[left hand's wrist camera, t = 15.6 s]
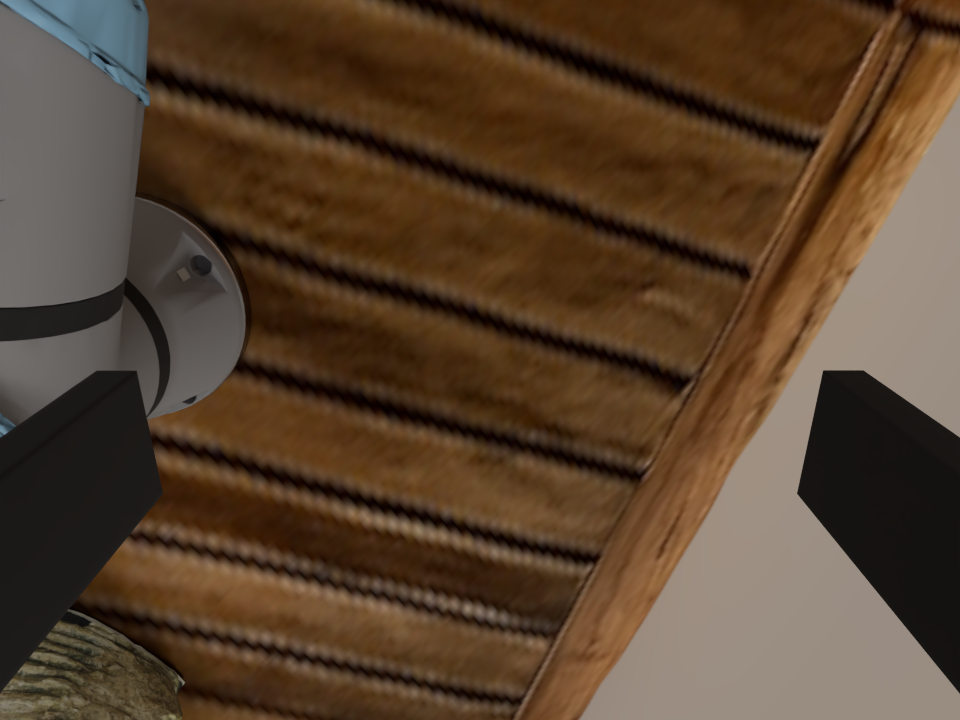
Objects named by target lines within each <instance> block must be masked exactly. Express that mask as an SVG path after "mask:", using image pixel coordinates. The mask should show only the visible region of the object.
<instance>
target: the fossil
mask: <svg viewBox="0 0 960 720" xmlns="http://www.w3.org/2000/svg"><path fill="white" fill-rule="evenodd" d="M184 684H185V682H184V681H183V680H182V678H181V677H180V676H179V675H178V674H177V673H176V672H175V671H174V670H172V669H171V668H169V667H167V666H166V665H165V664H164V663H163V662H161V661H160V660H159V659H158V658H156V657H155V656H153V655H152V654H150V653H149V652H147V651H146V650H145V649H144V648H142V647H141V646H139V645H136V644H134V643H132V642H131V641H130V640H129V639H127V638H126V637H125V636H124V635H122V634H120V633H119V632H117V631H115V630H113V629H111V628H110V627H108V626H106V625H104V624H102V623H100V622H99V621H97V620H95V619H93V618H90V617H88V616H86V615H84V614H82V613H79V612H76V611H73V610H69V609H68V611H67V612H66V613H65V614H64V616H63V617H62V618H61V619H60V621H59V622H58V623H57V624H56V625H55V627H54V628H53V629H52V630H51V632H50V633H49V634H48V635H47V636H46V638H45V639H44V640H43V641H42V643H41V644H40V645H39V646H38V648H37V649H36V650H35V651H34V652H33V654H32V655H31V656H30V657H29V659H28V660H27V661H26V662H25V664H24V665H23V666H22V667H21V668H20V670H19V671H18V672H17V673H16V675H15V676H14V677H13V678H12V679H11V681H10V682H9V683H8V684H7V686H6V687H5V688H4V689H3V691H2V692H1V693H0V720H182V711H181V708H180V704H179V701H178V698H177V693H178V691H179V689H180V688H181V687H182V686H183V685H184Z"/></svg>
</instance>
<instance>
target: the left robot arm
mask: <svg viewBox="0 0 960 720" xmlns="http://www.w3.org/2000/svg"><path fill="white" fill-rule="evenodd" d="M148 27H149V19H148V12H147V8H146V5H145V2H144V0H0V693H1V692H2V691H3V689H4V688H5V687H6V686H7V684H8V683H9V682H10V681H11V679H12V678H13V677H14V676H15V675H16V673H17V672H18V671H19V670H20V668H21V667H22V666H23V665H24V664H25V662H26V661H27V660H28V659H29V657H30V656H31V655H32V654H33V652H34V651H35V650H36V649H37V648H38V646H39V645H40V644H41V643H42V641H43V640H44V639H45V638H46V636H47V635H48V634H49V633H50V632H51V630H52V629H53V628H54V627H55V625H56V624H57V623H58V622H59V621H60V619H61V618H62V617H63V616H64V614H65V613H66V612H67V611H68V609H69V608H70V607H71V606H72V605H73V603H74V602H75V601H76V600H77V598H78V597H79V596H80V595H81V593H82V592H83V591H84V590H85V589H86V587H87V586H88V585H89V584H90V582H91V581H92V580H93V579H94V578H95V576H96V575H97V574H98V573H99V571H100V570H101V569H102V568H103V566H104V565H105V564H106V563H107V562H108V560H109V559H110V558H111V557H112V555H113V554H114V553H115V552H116V550H117V549H118V548H119V547H120V546H121V544H122V543H123V542H124V541H125V539H126V538H127V537H128V536H129V535H130V533H131V532H132V531H133V530H134V528H135V527H136V526H137V525H138V523H139V522H140V521H141V520H142V519H143V517H144V516H145V515H146V514H147V512H148V511H149V510H150V509H151V508H152V506H153V505H154V504H155V503H156V501H157V500H158V499H159V498H160V496H161V495H162V494H163V492H162V488H161V483H160V478H159V473H158V469H157V464H156V459H155V455H154V450H153V445H152V440H151V436H150V431H149V426H148V422H147V420H148V419H151V418H155V417H158V416H161V415H163V414H168V413H172V412H175V411H178V410H181V409H184V408H187V407H189V406H191V405H193V404H195V403H197V402H198V401H200V400H202V399H204V398H205V397H207V396H208V395H210V394H211V393H212V392H214V391H215V390H216V389H217V388H218V387H219V386H220V385H221V384H222V383H223V382H224V381H225V380H226V379H227V378H228V377H229V376H230V374H231V373H232V372H233V371H234V369H235V368H236V367H237V365H238V364H239V362H240V360H241V359H242V356H243V354H244V352H245V350H246V346H247V343H248V340H249V335H250V328H251V307H250V300H249V295H248V291H247V288H246V284H245V281H244V279H243V276H242V274H241V272H240V269H239V268H238V266H237V264H236V262H235V260H234V258H233V257H232V255H231V254H230V252H229V251H228V249H227V248H226V247H225V246H224V244H223V243H222V242H221V241H220V239H219V238H218V237H217V236H216V235H215V234H214V233H213V232H212V231H211V230H210V229H209V228H208V227H206V226H205V225H204V224H203V223H202V222H201V221H199V220H198V219H197V218H195V217H194V216H193V215H191V214H189V213H188V212H186V211H185V210H183V209H181V208H179V207H177V206H175V205H174V204H172V203H169V202H167V201H164V200H162V199H159V198H156V197H153V196H150V195H146V194H141V193H136V185H137V175H138V166H139V157H140V148H141V139H142V130H143V121H144V111H145V106H149V105H150V94H149V91H148V90H147V89H146V87H145V86H146V66H147V47H148ZM797 494H798V495H799V496H800V498H801V499H802V500H803V501H804V503H805V504H806V505H807V506H808V508H809V509H810V510H811V511H812V512H813V514H814V515H815V516H816V517H817V519H818V520H819V521H820V522H821V523H822V525H823V526H824V527H825V528H826V530H827V531H828V532H829V533H830V535H831V536H832V537H833V538H834V539H835V541H836V542H837V543H838V544H839V546H840V547H841V548H842V549H843V550H844V552H845V553H846V554H847V555H848V557H849V558H850V559H851V560H852V562H853V563H854V564H855V565H856V566H857V568H858V569H859V570H860V571H861V573H862V574H863V575H864V576H865V577H866V579H867V580H868V581H869V582H870V584H871V585H872V586H873V587H874V589H875V590H876V591H877V592H878V593H879V595H880V596H881V597H882V598H883V600H884V601H885V602H886V603H887V605H888V606H889V607H890V608H891V609H892V611H893V612H894V613H895V614H896V616H897V617H898V618H899V619H900V621H901V622H902V623H903V624H904V625H905V627H906V628H907V629H908V630H909V632H910V633H911V634H912V635H913V636H914V638H915V639H916V640H917V641H918V643H919V644H920V645H921V646H922V648H923V649H924V650H925V651H926V652H927V654H928V655H929V656H930V657H931V659H932V660H933V661H934V662H935V664H936V665H937V666H938V667H939V668H940V670H941V671H942V672H943V673H944V675H945V676H946V677H947V678H948V679H949V681H950V682H951V683H952V684H953V686H954V687H955V688H956V689H957V691H958V692H959V693H960V437H958V436H957V435H955V434H954V433H952V432H951V431H950V430H948V429H947V428H945V427H944V426H942V425H941V424H940V423H938V422H937V421H935V420H934V419H932V418H931V417H929V416H928V415H927V414H925V413H924V412H922V411H921V410H919V409H918V408H916V407H915V406H914V405H912V404H911V403H909V402H908V401H906V400H905V399H904V398H902V397H901V396H899V395H898V394H896V393H895V392H893V391H892V390H891V389H889V388H888V387H886V386H885V385H883V384H882V383H881V382H879V381H878V380H876V379H875V378H873V377H872V376H870V375H869V374H867V373H866V372H865V371H823V374H822V379H821V384H820V388H819V393H818V398H817V403H816V407H815V412H814V417H813V422H812V426H811V431H810V436H809V441H808V445H807V450H806V455H805V459H804V464H803V469H802V473H801V478H800V483H799V488H798V492H797Z"/></svg>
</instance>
